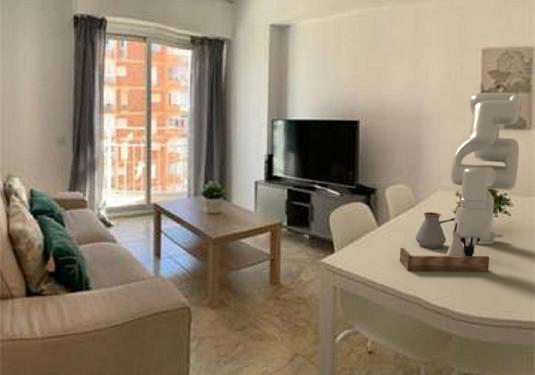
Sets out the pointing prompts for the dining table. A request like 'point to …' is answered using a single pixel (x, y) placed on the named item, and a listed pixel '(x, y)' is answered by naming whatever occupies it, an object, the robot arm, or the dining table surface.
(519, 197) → the dining table surface
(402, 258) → the wooden block
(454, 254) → the flask
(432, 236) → the coffee pot
